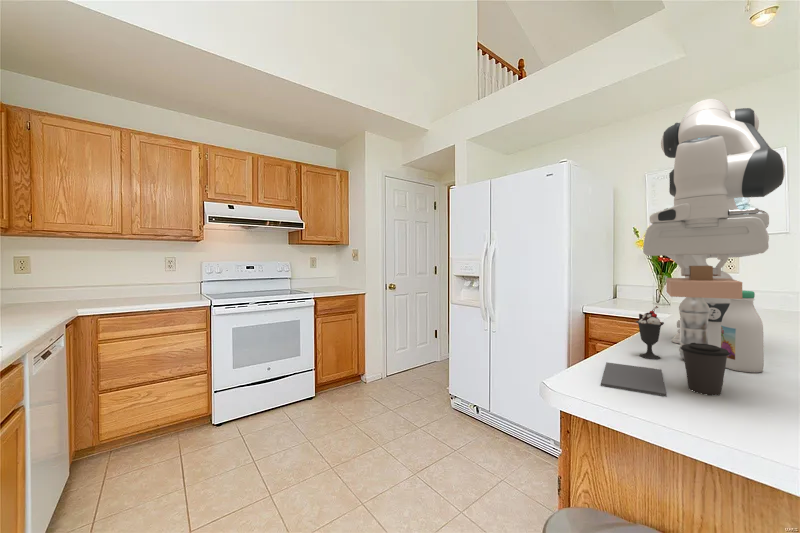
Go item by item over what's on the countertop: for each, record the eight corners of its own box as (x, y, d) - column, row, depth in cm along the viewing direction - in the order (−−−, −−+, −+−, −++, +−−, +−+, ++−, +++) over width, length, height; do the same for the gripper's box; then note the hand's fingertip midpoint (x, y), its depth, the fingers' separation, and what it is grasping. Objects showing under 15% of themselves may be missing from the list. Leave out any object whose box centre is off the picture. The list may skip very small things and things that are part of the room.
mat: (606, 364, 94) (606, 362, 94) (661, 371, 87) (661, 369, 87) (600, 385, 79) (600, 383, 79) (666, 396, 72) (666, 393, 72)
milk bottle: (762, 367, 88) (762, 290, 87) (764, 375, 82) (764, 293, 82) (721, 361, 93) (721, 288, 93) (720, 369, 88) (720, 291, 87)
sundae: (666, 361, 95) (666, 307, 94) (637, 358, 98) (636, 306, 98) (662, 355, 101) (662, 304, 100) (634, 352, 104) (634, 303, 103)
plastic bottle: (717, 365, 91) (716, 290, 90) (687, 364, 92) (687, 290, 91) (700, 358, 97) (700, 287, 96) (673, 357, 98) (673, 288, 98)
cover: (666, 291, 82) (666, 265, 82) (729, 293, 76) (729, 264, 76) (670, 296, 73) (670, 267, 73) (742, 298, 67) (742, 266, 66)
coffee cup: (682, 381, 80) (682, 338, 80) (730, 389, 75) (730, 344, 74) (678, 391, 74) (678, 346, 74) (730, 401, 69) (730, 352, 69)
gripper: (764, 208, 71) (763, 275, 71) (642, 217, 82) (643, 274, 83) (774, 205, 65) (774, 277, 66) (643, 215, 77) (643, 276, 77)
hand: (700, 276), depth 74 cm, fingers closed on cover, 3 cm apart
